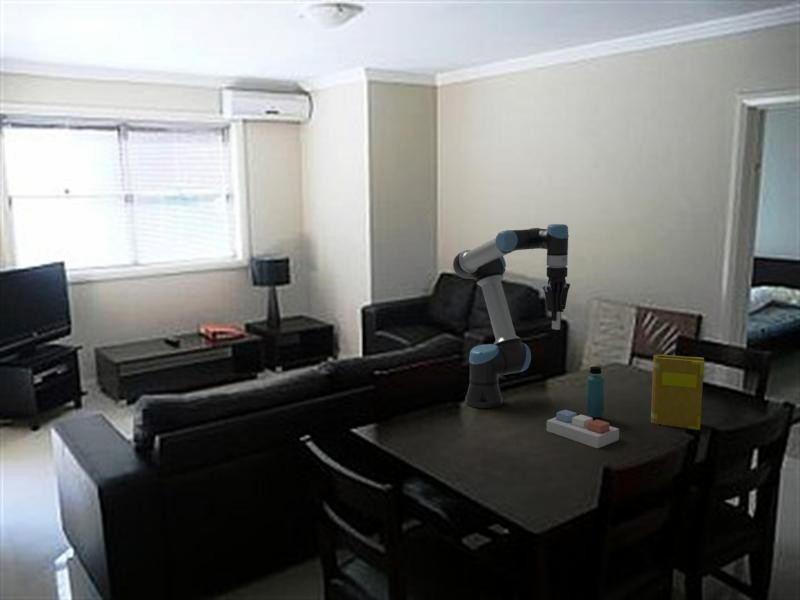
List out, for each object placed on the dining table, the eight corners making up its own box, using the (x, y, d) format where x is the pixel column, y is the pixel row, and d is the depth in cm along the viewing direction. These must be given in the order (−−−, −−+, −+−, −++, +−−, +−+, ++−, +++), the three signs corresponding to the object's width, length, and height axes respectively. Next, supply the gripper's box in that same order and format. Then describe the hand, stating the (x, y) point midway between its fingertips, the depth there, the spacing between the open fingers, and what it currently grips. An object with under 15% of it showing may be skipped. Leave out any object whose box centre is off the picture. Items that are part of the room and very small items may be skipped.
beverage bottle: (604, 421, 258) (605, 369, 254) (585, 420, 259) (587, 369, 256) (602, 415, 264) (604, 365, 261) (584, 415, 265) (586, 364, 262)
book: (700, 423, 253) (704, 357, 249) (699, 429, 247) (703, 362, 243) (651, 418, 260) (654, 353, 256) (649, 423, 254) (652, 358, 250)
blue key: (556, 425, 250) (556, 412, 249) (565, 422, 253) (565, 409, 252) (567, 429, 246) (567, 416, 245) (576, 426, 249) (576, 412, 248)
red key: (588, 436, 239) (588, 422, 238) (597, 432, 242) (597, 419, 241) (600, 440, 235) (600, 426, 234) (609, 436, 238) (609, 423, 237)
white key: (571, 430, 245) (572, 417, 244) (580, 427, 248) (581, 414, 247) (583, 434, 241) (583, 421, 240) (592, 431, 244) (592, 417, 243)
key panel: (546, 430, 249) (546, 420, 249) (567, 423, 257) (568, 413, 256) (597, 448, 232) (597, 437, 231) (618, 439, 239) (619, 428, 239)
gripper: (553, 268, 247) (552, 333, 251) (576, 265, 255) (575, 328, 259) (537, 267, 253) (536, 329, 257) (560, 264, 261) (559, 325, 265)
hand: (555, 328), depth 258 cm, fingers closed
